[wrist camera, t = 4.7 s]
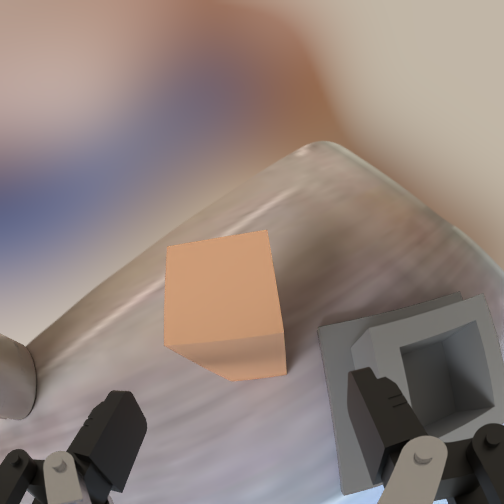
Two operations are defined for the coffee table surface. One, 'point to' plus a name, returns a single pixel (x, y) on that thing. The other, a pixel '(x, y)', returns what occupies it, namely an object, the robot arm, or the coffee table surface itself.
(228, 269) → the orange rectangular block
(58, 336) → the coffee table surface
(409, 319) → the well
